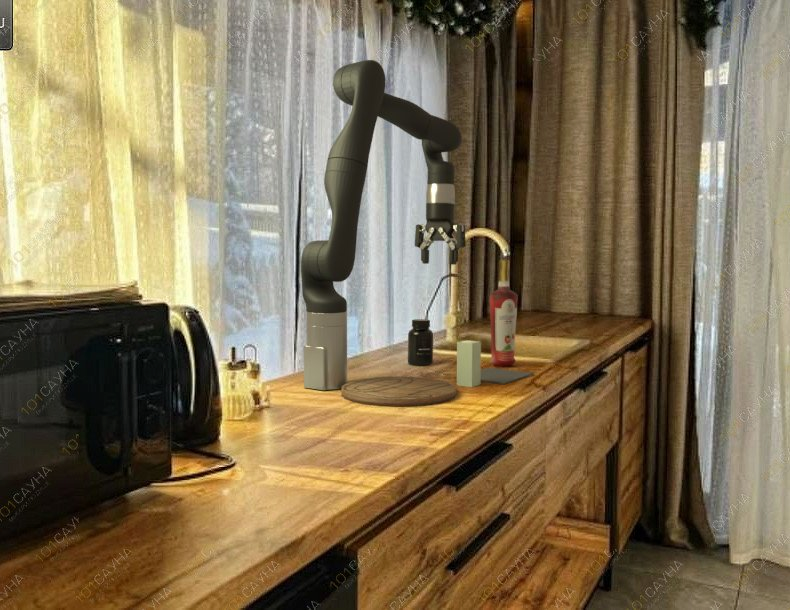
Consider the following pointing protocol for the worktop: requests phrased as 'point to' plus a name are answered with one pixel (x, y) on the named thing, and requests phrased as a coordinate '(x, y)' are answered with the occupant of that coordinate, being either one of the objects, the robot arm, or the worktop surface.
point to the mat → (502, 375)
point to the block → (468, 363)
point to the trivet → (398, 391)
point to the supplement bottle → (420, 343)
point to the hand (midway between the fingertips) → (439, 264)
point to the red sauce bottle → (503, 320)
